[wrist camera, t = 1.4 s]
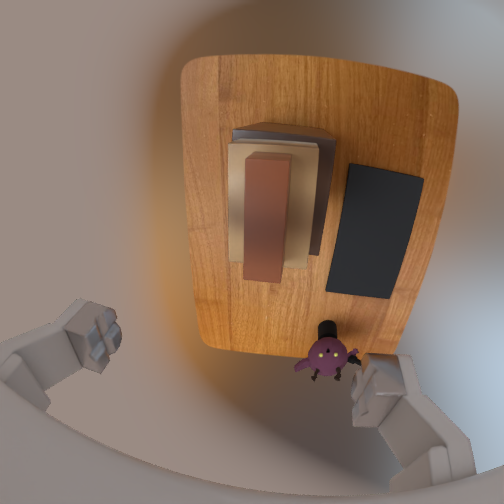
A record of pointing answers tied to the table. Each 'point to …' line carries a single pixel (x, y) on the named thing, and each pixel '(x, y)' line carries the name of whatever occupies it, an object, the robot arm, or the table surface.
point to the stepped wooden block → (270, 205)
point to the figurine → (327, 353)
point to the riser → (324, 164)
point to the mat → (373, 231)
